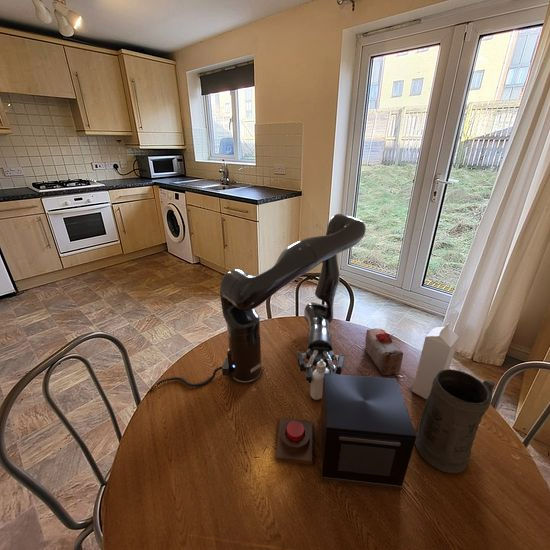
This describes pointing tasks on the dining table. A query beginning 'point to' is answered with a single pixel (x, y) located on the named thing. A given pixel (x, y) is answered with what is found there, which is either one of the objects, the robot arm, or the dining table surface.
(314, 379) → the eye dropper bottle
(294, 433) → the button
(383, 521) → the dining table surface
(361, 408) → the oven
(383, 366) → the food item
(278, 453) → the housing
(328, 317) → the robot arm
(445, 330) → the milk
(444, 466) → the beer stein
